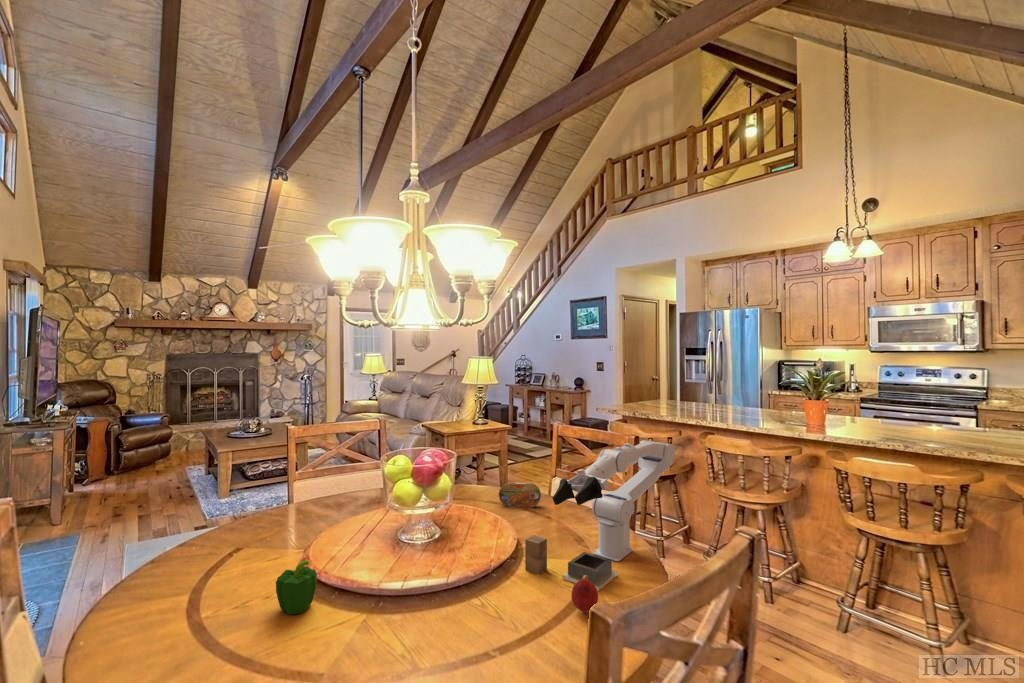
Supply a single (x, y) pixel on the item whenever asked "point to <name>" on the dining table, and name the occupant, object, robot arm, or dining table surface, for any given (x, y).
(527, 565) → the rail post
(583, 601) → the onion
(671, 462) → the robot arm
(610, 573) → the grey square socket
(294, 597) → the bell pepper
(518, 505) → the tin
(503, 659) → the dining table surface
